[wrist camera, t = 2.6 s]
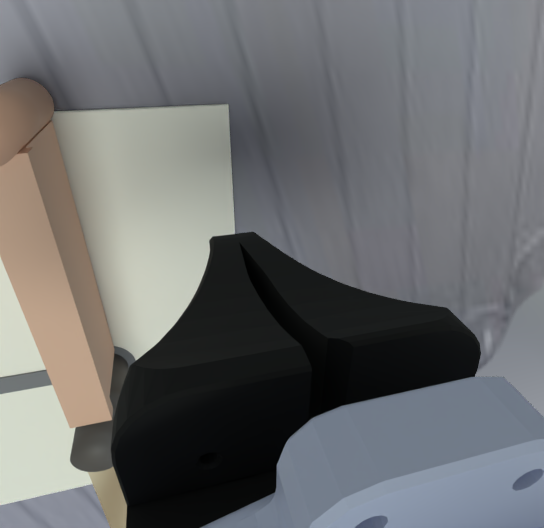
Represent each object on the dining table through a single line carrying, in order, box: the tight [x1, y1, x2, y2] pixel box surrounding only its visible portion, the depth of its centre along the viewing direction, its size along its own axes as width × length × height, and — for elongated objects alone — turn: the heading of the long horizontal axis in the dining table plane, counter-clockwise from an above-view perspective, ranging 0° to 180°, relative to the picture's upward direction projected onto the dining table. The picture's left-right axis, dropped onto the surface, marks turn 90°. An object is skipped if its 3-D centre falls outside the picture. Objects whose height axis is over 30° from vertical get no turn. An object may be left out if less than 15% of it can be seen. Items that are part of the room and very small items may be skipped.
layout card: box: [0, 104, 235, 505], centre depth 19 cm, size 20×22×1 cm
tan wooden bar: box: [0, 78, 115, 428], centre depth 15 cm, size 2×12×5 cm, turn 179°
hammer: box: [70, 354, 128, 528], centre depth 21 cm, size 2×11×6 cm, turn 179°
